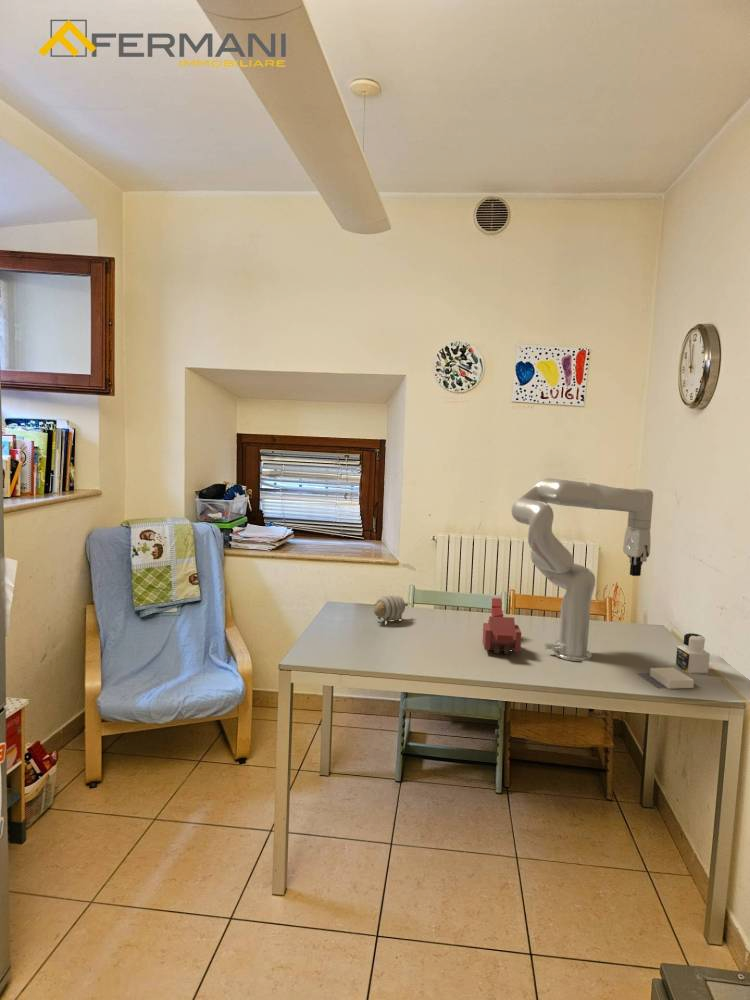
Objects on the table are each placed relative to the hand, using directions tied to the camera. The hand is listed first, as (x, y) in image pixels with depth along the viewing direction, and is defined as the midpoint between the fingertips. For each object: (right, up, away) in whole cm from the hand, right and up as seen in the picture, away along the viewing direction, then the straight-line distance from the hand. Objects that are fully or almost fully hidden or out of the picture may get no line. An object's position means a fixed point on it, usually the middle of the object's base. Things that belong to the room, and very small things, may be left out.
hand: (635, 575), depth 221 cm
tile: (-1, -28, -23) cm, 36 cm away
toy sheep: (-86, -22, +26) cm, 92 cm away
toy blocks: (-48, -26, +1) cm, 55 cm away
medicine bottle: (+12, -30, -16) cm, 36 cm away
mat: (-1, -30, -26) cm, 40 cm away
